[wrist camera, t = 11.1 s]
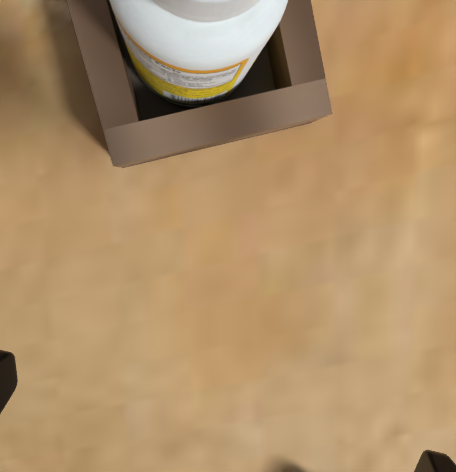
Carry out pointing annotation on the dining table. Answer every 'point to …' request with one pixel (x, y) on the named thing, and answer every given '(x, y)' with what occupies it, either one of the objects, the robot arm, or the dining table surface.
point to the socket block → (204, 117)
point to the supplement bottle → (195, 44)
